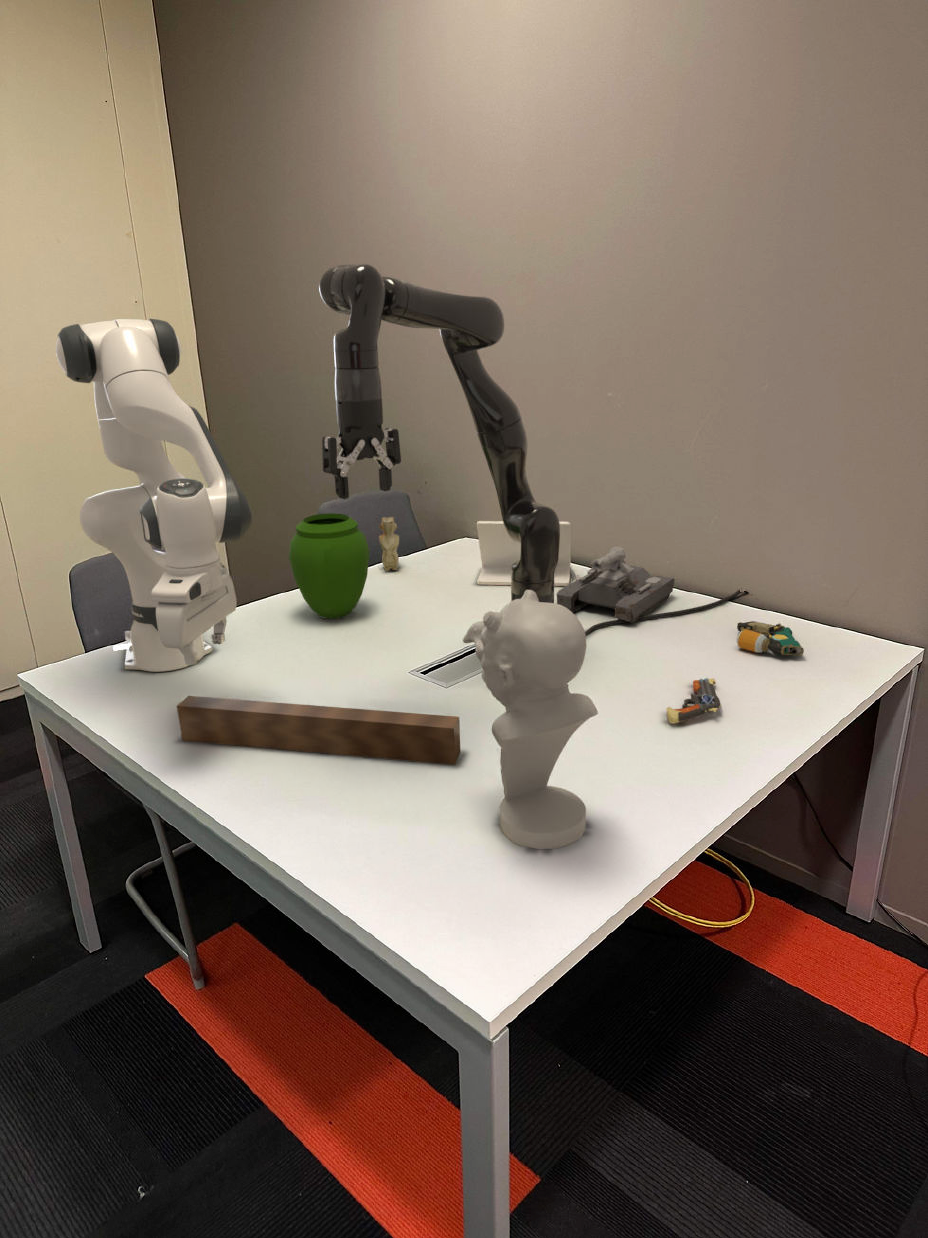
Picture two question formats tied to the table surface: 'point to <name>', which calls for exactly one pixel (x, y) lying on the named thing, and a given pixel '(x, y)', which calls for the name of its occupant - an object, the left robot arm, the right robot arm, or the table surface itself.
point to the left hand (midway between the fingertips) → (206, 652)
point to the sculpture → (389, 543)
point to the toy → (617, 588)
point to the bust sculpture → (534, 714)
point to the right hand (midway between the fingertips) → (364, 494)
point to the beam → (321, 729)
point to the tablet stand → (514, 554)
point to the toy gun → (696, 702)
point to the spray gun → (767, 638)
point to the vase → (329, 563)
